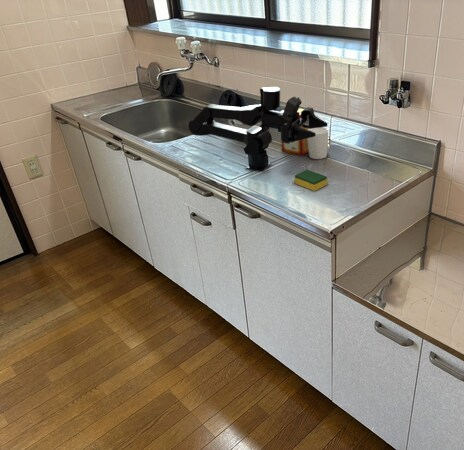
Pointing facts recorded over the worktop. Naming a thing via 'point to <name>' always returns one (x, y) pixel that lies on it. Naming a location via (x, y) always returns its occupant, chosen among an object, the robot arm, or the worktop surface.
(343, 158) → the worktop surface
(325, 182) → the sponge
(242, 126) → the teacup
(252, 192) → the worktop surface
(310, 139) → the white cup
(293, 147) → the baking soda box
